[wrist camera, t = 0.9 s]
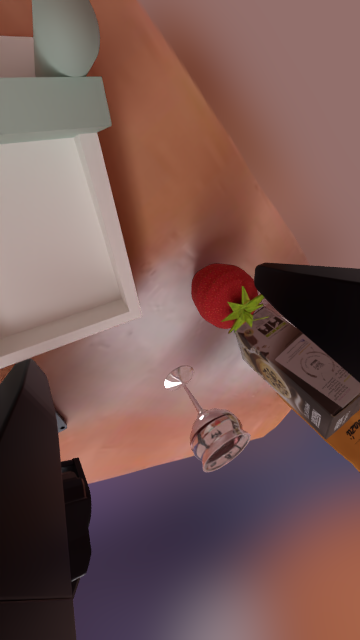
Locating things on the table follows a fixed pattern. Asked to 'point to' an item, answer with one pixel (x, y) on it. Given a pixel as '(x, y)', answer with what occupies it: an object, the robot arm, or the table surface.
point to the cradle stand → (57, 190)
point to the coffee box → (299, 372)
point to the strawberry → (225, 296)
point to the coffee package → (345, 438)
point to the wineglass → (210, 427)
